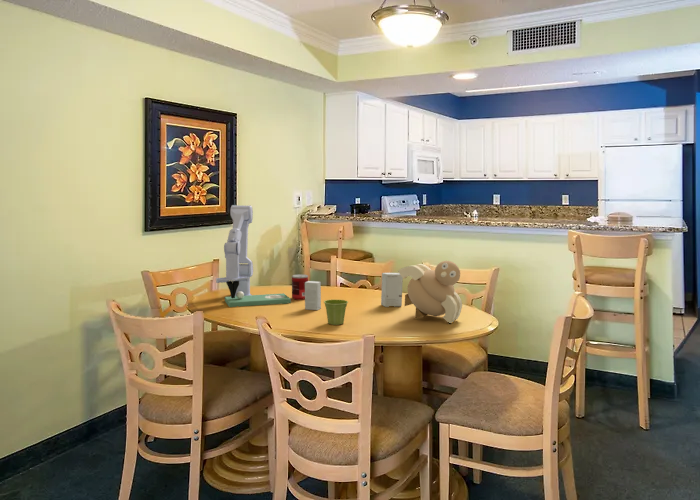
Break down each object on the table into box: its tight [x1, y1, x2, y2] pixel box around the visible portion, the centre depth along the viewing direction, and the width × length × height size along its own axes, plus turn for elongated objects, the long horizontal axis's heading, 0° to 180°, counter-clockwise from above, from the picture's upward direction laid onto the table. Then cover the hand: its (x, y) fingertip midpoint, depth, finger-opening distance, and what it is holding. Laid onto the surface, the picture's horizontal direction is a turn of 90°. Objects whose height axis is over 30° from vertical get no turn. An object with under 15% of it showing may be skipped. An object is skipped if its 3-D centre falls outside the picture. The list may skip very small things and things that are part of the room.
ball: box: [236, 291, 244, 299], centre depth 252 cm, size 4×4×4 cm
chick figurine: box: [397, 260, 463, 324], centre depth 224 cm, size 30×28×23 cm
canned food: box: [291, 273, 309, 301], centre depth 265 cm, size 8×8×11 cm
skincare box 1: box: [304, 280, 322, 311], centre depth 241 cm, size 6×4×12 cm
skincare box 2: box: [380, 272, 404, 308], centre depth 250 cm, size 8×6×15 cm
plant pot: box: [323, 299, 349, 326], centre depth 216 cm, size 9×9×9 cm
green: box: [224, 292, 292, 308], centre depth 255 cm, size 14×28×2 cm, turn 110°
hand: (232, 297), depth 251 cm, fingers closed
